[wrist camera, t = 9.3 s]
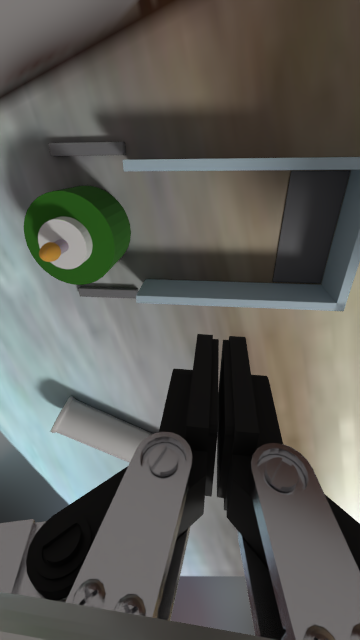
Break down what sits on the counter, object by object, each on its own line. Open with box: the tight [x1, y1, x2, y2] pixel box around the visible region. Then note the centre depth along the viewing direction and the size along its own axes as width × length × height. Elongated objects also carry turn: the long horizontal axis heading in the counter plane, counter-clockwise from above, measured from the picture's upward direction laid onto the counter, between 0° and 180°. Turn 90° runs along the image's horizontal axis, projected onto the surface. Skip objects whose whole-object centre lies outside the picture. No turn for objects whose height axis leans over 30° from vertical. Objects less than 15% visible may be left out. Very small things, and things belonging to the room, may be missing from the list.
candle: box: [24, 186, 131, 285], centre depth 25 cm, size 8×8×10 cm
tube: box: [51, 396, 152, 462], centre depth 44 cm, size 5×5×25 cm
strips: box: [48, 142, 138, 298], centre depth 29 cm, size 7×15×1 cm, turn 1°
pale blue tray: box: [123, 157, 360, 311], centre depth 26 cm, size 20×13×4 cm, turn 91°
